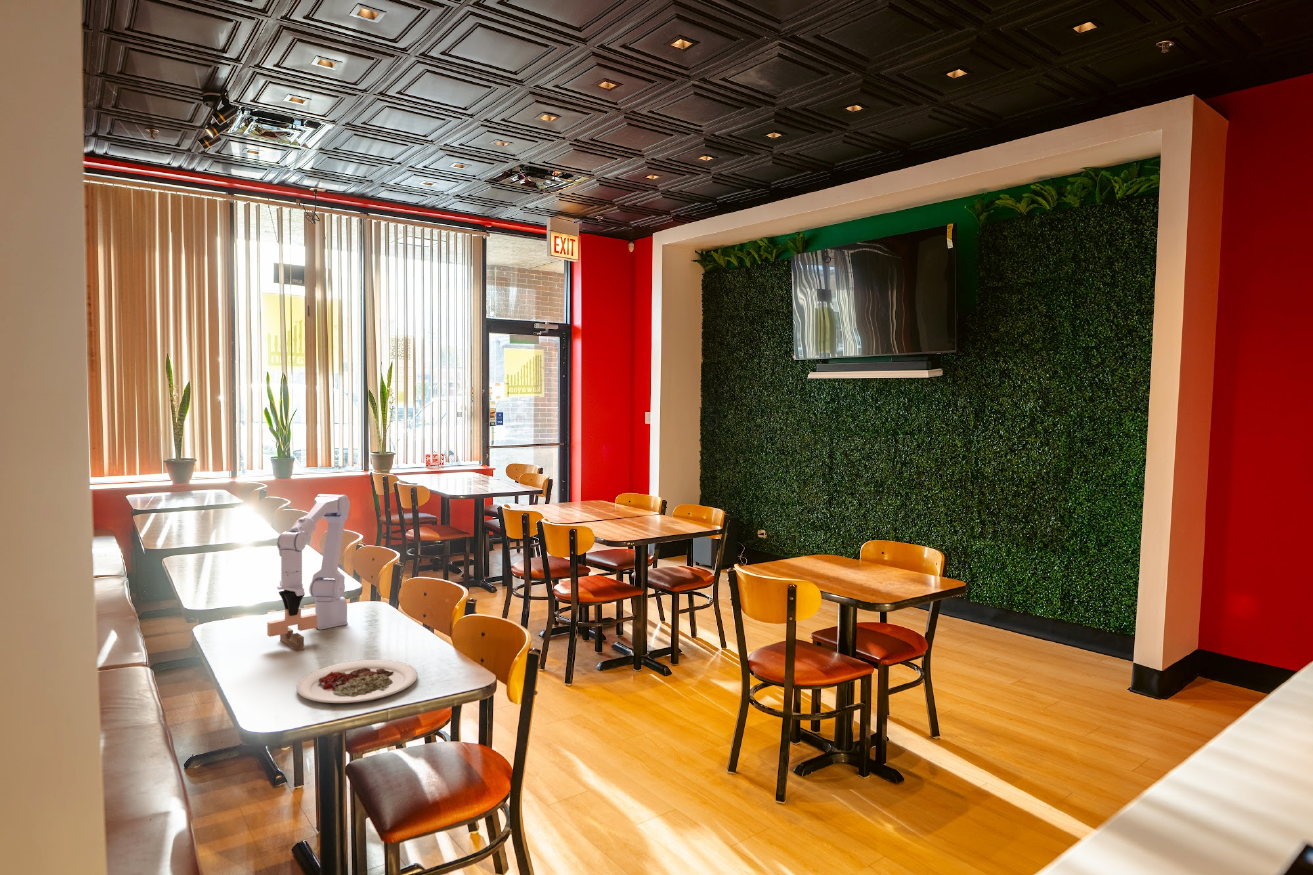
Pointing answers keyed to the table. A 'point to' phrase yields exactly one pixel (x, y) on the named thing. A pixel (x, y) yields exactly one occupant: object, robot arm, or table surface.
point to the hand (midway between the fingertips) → (291, 614)
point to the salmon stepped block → (291, 623)
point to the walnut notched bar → (293, 640)
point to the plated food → (356, 681)
